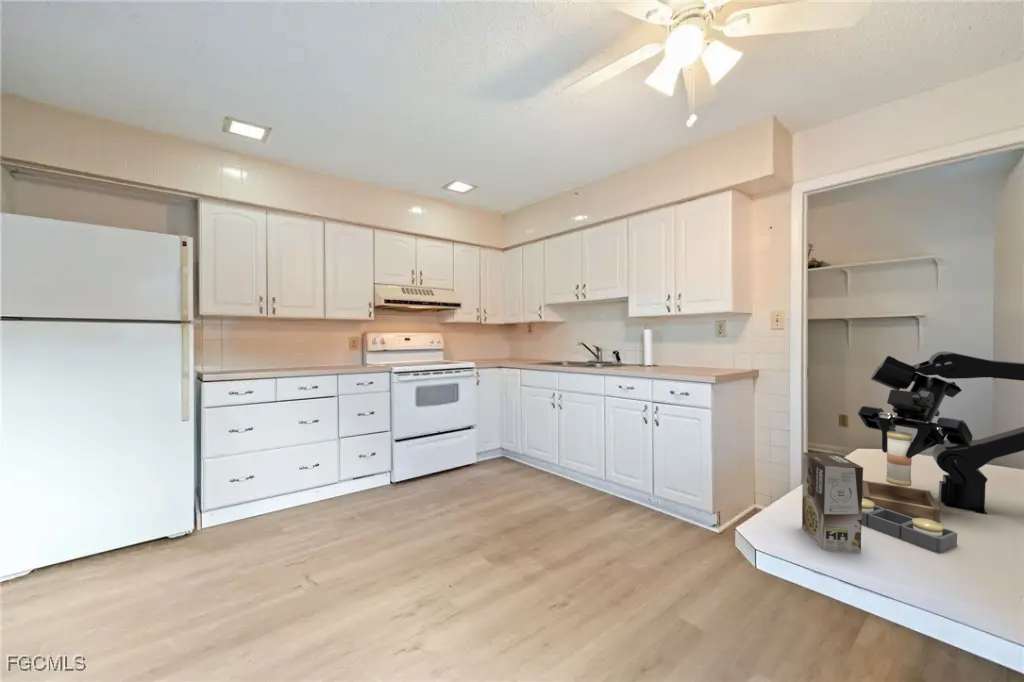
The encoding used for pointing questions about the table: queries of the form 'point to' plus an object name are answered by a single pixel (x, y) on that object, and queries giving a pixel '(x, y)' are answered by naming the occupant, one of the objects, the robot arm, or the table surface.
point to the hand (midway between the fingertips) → (895, 454)
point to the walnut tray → (902, 500)
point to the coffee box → (832, 501)
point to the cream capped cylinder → (898, 458)
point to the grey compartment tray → (907, 530)
